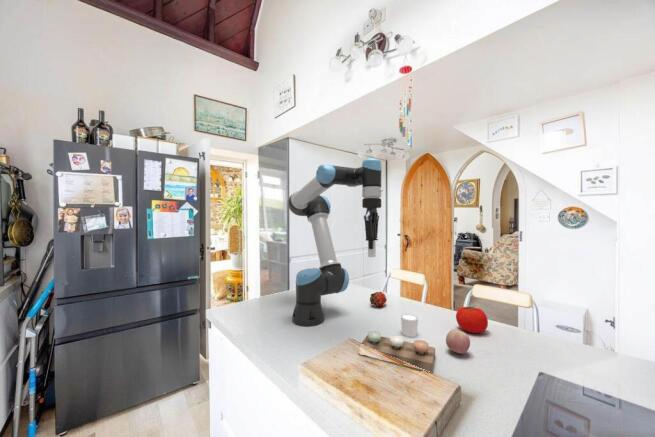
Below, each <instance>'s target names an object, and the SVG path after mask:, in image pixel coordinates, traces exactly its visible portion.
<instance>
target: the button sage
mask: <svg viewBox="0 0 655 437" xmlns="http://www.w3.org/2000/svg"><path fill="white" fill-rule="evenodd" d="M367 335H368V339H369V340H370V341H372V343H373V344H377V342H378V341H380V340H381V337H382V333H381V332H380V331H376V330H371V331H369V332H367Z"/></svg>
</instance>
